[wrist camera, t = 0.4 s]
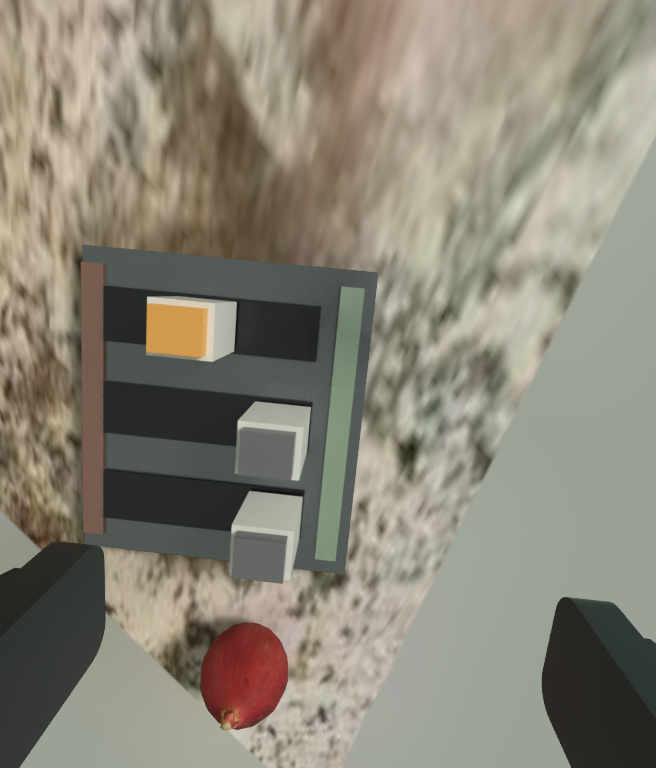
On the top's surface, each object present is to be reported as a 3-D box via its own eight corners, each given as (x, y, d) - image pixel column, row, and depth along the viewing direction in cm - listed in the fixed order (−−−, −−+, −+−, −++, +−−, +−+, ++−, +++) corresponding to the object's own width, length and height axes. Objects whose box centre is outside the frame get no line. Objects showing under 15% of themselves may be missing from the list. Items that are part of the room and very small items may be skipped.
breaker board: (99, 248, 30) (80, 244, 28) (376, 274, 30) (378, 272, 27) (100, 530, 34) (83, 546, 32) (344, 557, 33) (344, 576, 31)
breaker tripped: (179, 296, 28) (140, 296, 23) (236, 301, 28) (210, 303, 23) (177, 345, 29) (139, 357, 23) (234, 351, 28) (207, 364, 23)
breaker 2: (249, 490, 30) (228, 531, 25) (302, 496, 30) (292, 539, 25) (246, 533, 31) (225, 581, 25) (299, 539, 31) (288, 589, 25)
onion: (310, 639, 35) (298, 739, 27) (253, 679, 36) (225, 787, 28) (259, 584, 34) (231, 670, 26) (202, 626, 35) (159, 721, 27)
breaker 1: (255, 401, 29) (234, 424, 24) (310, 407, 29) (301, 431, 24) (252, 446, 30) (230, 479, 24) (306, 452, 29) (297, 486, 24)
